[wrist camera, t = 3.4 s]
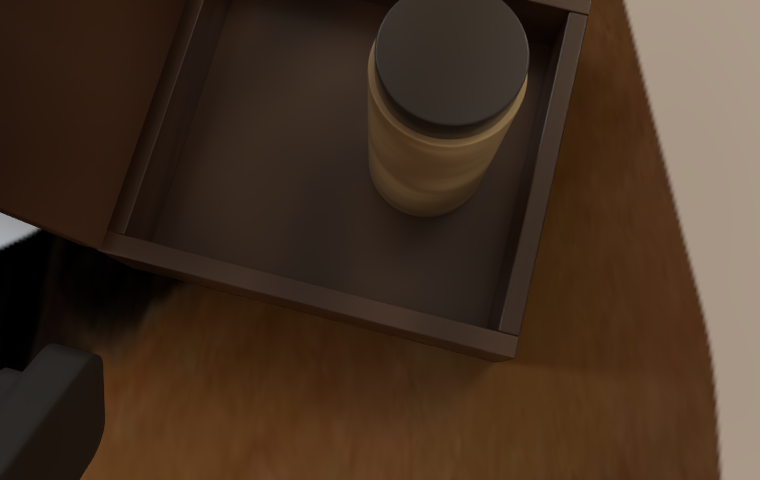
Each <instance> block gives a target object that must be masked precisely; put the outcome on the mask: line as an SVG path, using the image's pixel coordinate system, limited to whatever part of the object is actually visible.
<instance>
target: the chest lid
mask: <svg viewBox="0 0 760 480" xmlns="http://www.w3.org/2000/svg"><path fill="white" fill-rule="evenodd" d="M185 2H186V0H0V212H1V213H3V214H6V215H8V216H11V217H13V218H16V219H18V220H20V221H23V222H25V223H28V224H31V225H33V226H35V227H38V228H40V229H43V230H45V231H48V232H50V233H53V234H55V235H58V236H60V237H62V238H65V239H67V240H70V241H72V242H75V243H77V244H80V245H82V246H86V247H91V248H95V249H100V248H101V245H102V242H103V239H104V236H105V234H106V231H107V228H108V225H109V222H110V219H111V216H112V213H113V210H114V208H115V205H116V202H117V199H118V196H119V193H120V190H121V187H122V184H123V181H124V179H125V176H126V173H127V170H128V167H129V164H130V161H131V158H132V155H133V153H134V150H135V147H136V144H137V141H138V138H139V135H140V132H141V129H142V126H143V124H144V121H145V118H146V115H147V112H148V109H149V106H150V103H151V100H152V98H153V95H154V92H155V89H156V86H157V83H158V80H159V77H160V74H161V71H162V69H163V66H164V63H165V60H166V57H167V54H168V51H169V48H170V45H171V43H172V40H173V37H174V34H175V31H176V28H177V25H178V22H179V19H180V17H181V14H182V11H183V8H184V5H185Z"/></svg>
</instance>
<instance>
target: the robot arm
mask: <svg viewBox="0 0 760 480" xmlns="http://www.w3.org/2000/svg"><path fill="white" fill-rule="evenodd" d="M104 425H105V407H104V378H103V361H102V358H101V356H99V355H97V354H93V353H89V352H85V351H81V350H78V349H74V348H70V347H66V346H63V345H59V344H55V343H51V344H49V345H47V346H45V347H44V348H43V349H42V350H41V351H40V352H39V353H38V355H37V356H36V357H35V358H34V359H33V360H32V362H31V363H30V364H29V365H28V366H27V367H26V369H25V370H24V371H23V372H21V371H17V370H13V369H9V368H4V369H2V370H0V480H79V479H80V478H81V476H82V475H83V473H84V472H85V470H86V469H87V467H88V465H89V464H90V462H91V461H92V459H93V457H94V455H95V453H96V451H97V449H98V446H99V444H100V441H101V438H102V435H103V431H104Z"/></svg>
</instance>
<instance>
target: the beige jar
mask: <svg viewBox="0 0 760 480" xmlns="http://www.w3.org/2000/svg"><path fill="white" fill-rule="evenodd" d="M528 68H529V45H528V40H527V37H526V33H525V31H524V29H523V26H522V24H521V23H520V21H519V19H518V17H517V16H516V15H515V13H514V12H513V11H512V10H511V8H509V7H508V6H507V5H506V4H505V3H504V2H503V1H502V0H399V1H398V2H397V3H396V4H395V5H394V6H393V7H392V8H391V9H390V10H389V12H388V13H387V15H386V16H385V17H384V19H383V21H382V23H381V25H380V27H379V30H378V33H377V36H376V39H375V41H374V43H373V46H372V48H371V51H370V55H369V60H368V71H367V72H368V150H369V171H370V175H371V178H372V181H373V184H374V186H375V187H376V189H377V191H378V192H379V194H380V195H381V196H382V197H383V198H384V200H385V201H386V202H388V203H389V204H390V205H391V206H393V207H394V208H396V209H397V210H399V211H401V212H403V213H406V214H409V215H412V216H417V217H437V216H442V215H445V214H448V213H450V212H452V211H454V210H456V209H458V208H459V207H461V206H462V205H464V204H465V203H466V202H467V201H468V200H469V199H470V198H471V197H472V195H473V194H474V192H475V191H476V189H477V187H478V186H479V184H480V182H481V180H482V178H483V176H484V174H485V172H486V170H487V168H488V167H489V165H490V163H491V161H492V159H493V157H494V155H495V153H496V151H497V149H498V147H499V146H500V144H501V142H502V140H503V138H504V136H505V134H506V132H507V130H508V128H509V126H510V125H511V123H512V121H513V119H514V117H515V115H516V113H517V111H518V109H519V107H520V105H521V103H522V101H523V98H524V95H525V92H526V87H527V76H528Z"/></svg>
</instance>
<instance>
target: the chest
mask: <svg viewBox="0 0 760 480" xmlns="http://www.w3.org/2000/svg"><path fill="white" fill-rule="evenodd" d="M398 1H399V0H186V2H185V5H184V8H183V11H182V14H181V17H180V19H179V22H178V25H177V28H176V31H175V34H174V37H173V40H172V43H171V45H170V48H169V51H168V54H167V57H166V60H165V63H164V66H163V69H162V71H161V74H160V77H159V80H158V83H157V86H156V89H155V92H154V95H153V98H152V100H151V103H150V106H149V109H148V112H147V115H146V118H145V121H144V124H143V126H142V129H141V132H140V135H139V138H138V141H137V144H136V147H135V150H134V153H133V155H132V158H131V161H130V164H129V167H128V170H127V173H126V176H125V179H124V181H123V184H122V187H121V190H120V193H119V196H118V199H117V202H116V205H115V208H114V210H113V213H112V216H111V219H110V222H109V225H108V228H107V231H106V234H105V236H104V239H103V242H102V245H101V248H100V249H97V250H98V251H99V252H101V253H103V254H105V255H107V256H109V257H111V258H113V259H115V260H117V261H119V262H121V263H123V264H125V265H127V266H129V267H131V268H135V269H138V270H142V271H146V272H150V273H154V274H158V275H161V276H165V277H169V278H173V279H177V280H181V281H185V282H188V283H192V284H196V285H200V286H204V287H208V288H211V289H215V290H219V291H223V292H227V293H231V294H235V295H238V296H242V297H246V298H250V299H254V300H258V301H261V302H265V303H269V304H273V305H277V306H281V307H285V308H288V309H292V310H296V311H300V312H304V313H308V314H311V315H315V316H319V317H323V318H327V319H331V320H334V321H338V322H342V323H346V324H350V325H354V326H358V327H361V328H365V329H369V330H373V331H377V332H381V333H384V334H388V335H392V336H396V337H400V338H404V339H408V340H411V341H415V342H419V343H423V344H427V345H431V346H434V347H438V348H442V349H446V350H450V351H454V352H457V353H461V354H465V355H469V356H473V357H477V358H481V359H484V360H488V361H492V362H500V361H505V360H509V359H514V358H515V355H516V350H517V345H518V341H519V337H518V336H519V335H520V331H521V326H522V321H523V317H524V312H525V308H526V303H527V298H528V294H529V289H530V284H531V280H532V275H533V270H534V266H535V261H536V257H537V252H538V247H539V243H540V238H541V233H542V229H543V224H544V220H545V215H546V210H547V206H548V201H549V196H550V192H551V187H552V183H553V178H554V173H555V169H556V164H557V159H558V155H559V150H560V146H561V141H562V136H563V132H564V127H565V122H566V118H567V113H568V109H569V104H570V99H571V95H572V90H573V85H574V81H575V76H576V72H577V67H578V62H579V58H580V53H581V48H582V44H583V39H584V35H585V30H586V25H587V21H588V15H589V12H590V8H591V3H592V0H502V1H503V2H504V3H505V4H506V5H507V6H508V7H509V8H511V10H512V11H513V12H514V13H515V15H516V16H517V17H518V19H519V21H520V23H521V24H522V26H523V29H524V31H525V33H526V37H527V40H528V45H529V68H528V76H527V87H526V92H525V95H524V98H523V101H522V103H521V105H520V107H519V109H518V111H517V113H516V115H515V117H514V119H513V121H512V123H511V125H510V126H509V128H508V130H507V132H506V134H505V136H504V138H503V140H502V142H501V144H500V146H499V147H498V149H497V151H496V153H495V155H494V157H493V159H492V161H491V163H490V165H489V167H488V168H487V170H486V172H485V174H484V176H483V178H482V180H481V182H480V184H479V186H478V187H477V189H476V191H475V192H474V194H473V195H472V197H471V198H470V199H469V200H468V201H467V202H466V203H465V204H464V205H462V206H461V207H459V208H458V209H456V210H454V211H452V212H450V213H448V214H445V215H442V216H437V217H417V216H412V215H409V214H406V213H403V212H401V211H399V210H397V209H396V208H394V207H393V206H391V205H390V204H389V203H388V202H386V201H385V200H384V198H383V197H382V196H381V195H380V194H379V192H378V191H377V189H376V187H375V186H374V184H373V181H372V178H371V175H370V171H369V150H368V72H367V71H368V60H369V55H370V51H371V48H372V46H373V43H374V41H375V39H376V36H377V33H378V30H379V27H380V25H381V23H382V21H383V19H384V17H385V16H386V15H387V13H388V12H389V10H390V9H391V8H392V7H393V6H394V5H395V4H396V3H397V2H398Z"/></svg>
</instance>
